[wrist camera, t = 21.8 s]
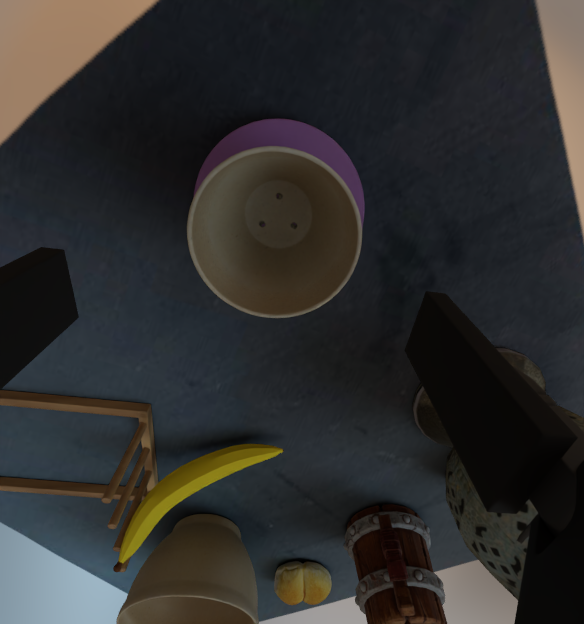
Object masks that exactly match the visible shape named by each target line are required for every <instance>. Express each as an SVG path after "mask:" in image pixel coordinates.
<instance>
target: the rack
mask: <svg viewBox="0 0 584 624" xmlns="http://www.w3.org/2000/svg"><path fill="white" fill-rule="evenodd" d="M0 405H7V406H18V407H28V408H39V409H50V410H61V411H72V412H83V413H94V414H104V415H115V416H126V417H137V418H139V427H138V429H137V431H136V433H135V435H134V437H133V438H132V440H131V442H130V444H129V446H128V448H127V450H126V452H125V454H124V456H123V458H122V460H121V462H120V464H119V466H118V468H117V470H116V472H115V474H114V476H113V477H112V479H111V481H110V483H109V485H100V484H87V483H75V482H62V481H49V480H37V479H24V478H11V477H0V490H2V491H15V492H29V493H42V494H55V495H68V496H81V497H94V498H102V499H101V501H102V502H103V503H110V502H111V500H112V499H120V500H119V502H118V504H117V506H116V508H115V510H114V512H113V515H112V517H111V519H110V521H109V523H108V528H110V529H115V528H116V527H117V525H118V523H119V520H120V518H121V516H122V513H123V511H124V509H125V507H126V504H127V502H128V500H133V502H132V505H131V507H130V510H129V512H128V514H127V517H126V519H125V521H124V524H123V526H122V528H121V531H120V533H119V535H118V538H117V540H116V542H115V545H114V547H113V550H114V551H116V552H120V550H121V545H122V542H123V539H124V536H125V533H126V531H127V528H128V526H129V524H130V522H131V519H132V517H133V515H134V514H135V512H136V510H137V508H138V507H139V505H140V503H141V501H143V500H144V498H145V497H146V495H147V494H148V493H149V492H150V491H151V490H152V489H153V488H154V487H155V486H156V485H157V484H158V474H157V463H156V453H155V442H154V432H153V421H152V411H151V404H144V403H134V402H123V401H112V400H102V399H91V398H81V397H70V396H60V395H49V394H39V393H28V392H18V391H7V390H0ZM140 440H141V442H142V452H141V454H140V456H139V459H138V461H137V463H136V465H135V467H134V469H133V471H132V474H131V476H130V478H129V480H128V482H127V484H126V486H119V484H120V482H121V480H122V477H123V475H124V473H125V471H126V469H127V467H128V465H129V463H130V461H131V459H132V457H133V455H134V453H135V451H136V449H137V447H138V444H139V442H140ZM143 466H144V467H145V474H144V477H143V479H142V481H141V484H140V486H139V488H138V487H134V486H135V484H136V482H137V479H138V477H139V475H140V472H141V470H142V468H143ZM130 558H131V556H130V557H129V558H128V559H127V560H126V561H125V562H124V563H123V564H122V566H121V570H120V571H119V572H125V571H126V568H127V566H128V563H129V560H130Z"/></svg>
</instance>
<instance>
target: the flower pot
mask: <svg viewBox="0 0 584 624" xmlns="http://www.w3.org/2000/svg"><path fill="white" fill-rule="evenodd" d="M277 194H278V195H279V197H278V198H277ZM293 223H295V224H296V225H294V224H293ZM262 224H265V226H263V227H262V226H261V225H262ZM187 239H188V246H189V250H190V254H191V257H192V260H193V262H194V265H195V267H196V269H197V271H198V273H199V275H200V276H201V278H202V279H203V281H204V282H205V283H206V284H207V286H208V287H209V288H210V289H211V290H212V291H213V292H214V293H215V294H216V295H217V296H218V297H219V298H221V299H222V300H223V301H225V302H226V303H228V304H229V305H231V306H233V307H235V308H237V309H239V310H241V311H243V312H246V313H248V314H251V315H255V316H261V317H267V318H286V317H293V316H298V315H302V314H305V313H308V312H310V311H312V310H315V309H317V308H318V307H320V306H322V305H323V304H325V303H326V302H328V301H329V300H330V299H331V298H333V297H334V296H335V295H336V294H337V293H338V292H339V291H340V290H341V289H342V288H343V287H344V285H345V284H346V283H347V281H348V280H349V278H350V277H351V275H352V273H353V271H354V269H355V266H356V264H357V261H358V258H359V254H360V250H361V243H362V225H361V218H360V213H359V210H358V207H357V204H356V202H355V199H354V197H353V195H352V193H351V191H350V189H349V188H348V186H347V185H346V183H345V182H344V181H343V179H342V178H341V177H340V176H339V175H338V174H337V173H336V172H335V171H334V170H333V169H332V168H331V167H330V166H328V165H327V164H326V163H324V162H323V161H321V160H320V159H318V158H316V157H314V156H313V155H311V154H308V153H306V152H303V151H300V150H297V149H293V148H288V147H281V146H263V147H257V148H252V149H248V150H245V151H242V152H239V153H237V154H235V155H233V156H231V157H229V158H228V159H226V160H225V161H223V162H222V163H220V164H219V165H218V166H216V167H215V168H214V169H213V170H212V171H211V172H210V173H209V174H208V175H207V177H206V178H205V179H204V180H203V182H202V183H201V185H200V186H199V188H198V190H197V192H196V194H195V196H194V198H193V201H192V203H191V206H190V210H189V215H188V222H187Z"/></svg>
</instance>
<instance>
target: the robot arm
mask: <svg viewBox="0 0 584 624" xmlns="http://www.w3.org/2000/svg"><path fill="white" fill-rule="evenodd" d="M77 318H79V316H78V312H77V307H76V302H75V298H74V293H73V289H72V284H71V279H70V275H69V270H68V266H67V261H66V256H65V252H64V250H61V249H53V248H44V247H41V248H39V249H37V250H35V251H33V252H31V253H29V254H27V255H25V256H23V257H21V258H19V259H17V260H15V261H13V262H11V263H9V264H7V265H5V266H3V267H1V268H0V389H2V388H3V387H4V386H5V385H6V384H7V383H8V382H9V381H10V380H11V379H12V378H13V377H15V376H16V375H17V374H18V373H19V372H20V371H21V370H22V369H23V368H24V367H25V366H26V365H28V364H29V363H30V362H31V361H32V360H33V359H34V358H35V357H36V356H37V355H38V354H39V353H41V352H42V351H43V350H44V349H45V348H46V347H47V346H48V345H49V344H50V343H51V342H53V341H54V340H55V339H56V338H57V337H58V336H59V335H60V334H61V333H62V332H63V331H64V330H66V329H67V328H68V327H69V326H70V325H71V324H72V323H73V322H74V321H75V320H76V319H77ZM405 352H406V354H407V356H408V358H409V360H410V362H411V364H412V366H413V368H414V370H415V372H416V374H417V376H418V378H419V380H420V381H421V383H422V385H423V387H424V389H425V391H426V393H427V395H428V397H429V399H430V401H431V403H432V405H433V407H434V409H435V411H436V413H437V415H438V417H439V419H440V421H441V423H442V425H443V427H444V429H445V431H446V432H447V434H448V436H449V438H450V440H451V442H452V444H453V446H454V448H455V450H456V452H457V454H458V456H459V458H460V460H461V462H462V464H463V466H464V468H465V470H466V472H467V474H468V476H469V478H470V480H471V482H472V483H473V485H474V487H475V489H476V491H477V493H478V495H479V497H480V499H481V501H482V503H483V505H484V507H485V509H486V511H487V512H494V513H509V514H517V513H518V512H519V511H520V509H521V508H522V507H523V506H524V504H525V503H526V502H527V501H528V499H530V501H531V503H532V504H533V506H534V507H535V509H536V510H537V512H538V514H537V515H536V516H535V517H534V519H533V520H532V521H531V522H530V523H529V524H528V526H527V527H526V528H525V529H524V530H523V531H522V533H521V534H520V535H519V537H518V539H517V541H518V542H520V543H521V544H522V543H523V542H524V540H525V539H526V538H529V540H528V546H527V552H526V558H525V564H524V570H523V576H522V582H521V588H520V594H519V600H518V606H517V612H516V618H515V624H584V432H583V431H582V430H581V429H580V427H579V426H578V425H577V424H576V423H575V422H574V421H573V420H572V419H571V418H570V417H569V416H568V415H567V414H566V413H565V412H564V411H563V410H562V409H561V408H560V407H557V403H556V402H555V401H554V400H553V399H552V398H551V397H550V396H549V395H546V392H545V391H544V390H543V389H542V388H541V387H540V386H539V385H538V384H537V382H536V381H535V380H534V379H532V378H531V377H529V376H528V375H526V374H525V373H524V372H522V371H521V370H519V369H518V368H516V367H513V366H512V365H511V364H510V363H509V362H508V361H507V360H506V359H505V358H504V357H503V356H502V354H501V353H500V352H499V351H498V350H497V349H496V348H495V347H494V346H493V345H492V344H491V342H490V341H489V340H488V339H487V338H486V337H485V336H484V335H483V334H482V333H481V332H480V331H479V329H478V328H477V327H476V326H475V325H474V324H473V323H472V322H471V321H470V320H469V319H468V317H467V316H466V315H465V314H464V313H463V312H462V311H461V310H460V309H459V308H458V307H457V306H456V304H455V303H454V302H453V301H452V300H451V299H450V298H449V297H448V296H447V295H446V294H444V293H435V292H427V291H426V293H425V296H424V298H423V301H422V304H421V307H420V310H419V312H418V315H417V318H416V321H415V323H414V326H413V329H412V332H411V334H410V337H409V340H408V343H407V345H406V348H405Z"/></svg>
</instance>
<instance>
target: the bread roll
mask: <svg viewBox="0 0 584 624" xmlns="http://www.w3.org/2000/svg"><path fill="white" fill-rule="evenodd" d="M331 585H332V582H331V576H330V573H329V572H328V570H327V569H326V568H324V567H323V566H322V565H320V564H318V563H316V562H310V561H306V562H305V563H303V564H302V563H301V562H299V561H293V562H288V563H285V564H283V565H281V566H279V567H278V568H277V571H276V573H275V585H274V591H275V592H276V593H277V595H278V597H279V598H280V599H281V600H282V601H283V602H285V603H287V604H290V605H296V604H298V603H300V602H301V601H302V600H303V601H304V602H306V603H308V604H312V605H314V604H318V603H320V602H322V601H323V600H324V599H325V598H326V597H327V596H328V594H329V593H330V590H331Z"/></svg>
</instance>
